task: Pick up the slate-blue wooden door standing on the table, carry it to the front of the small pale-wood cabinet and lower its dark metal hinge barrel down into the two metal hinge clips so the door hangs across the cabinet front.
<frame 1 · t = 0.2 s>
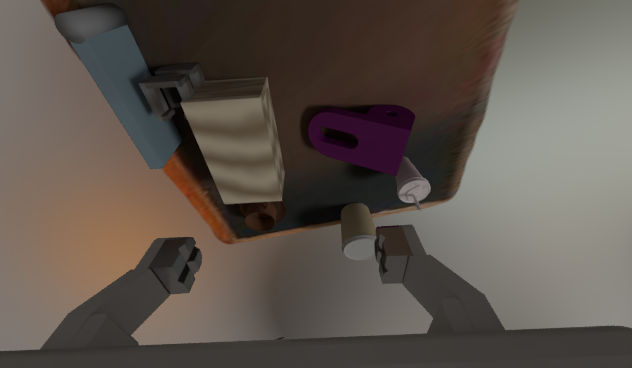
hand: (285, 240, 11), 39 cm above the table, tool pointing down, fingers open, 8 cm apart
coffee cup: (354, 211, 68), on the table
mounting bracket: (354, 126, 51), on the table
smoothie: (400, 162, 57), on the table
cup and saucer: (263, 203, 66), on the table
cabinet: (248, 133, 51), on the table
door: (152, 90, 45), on the table
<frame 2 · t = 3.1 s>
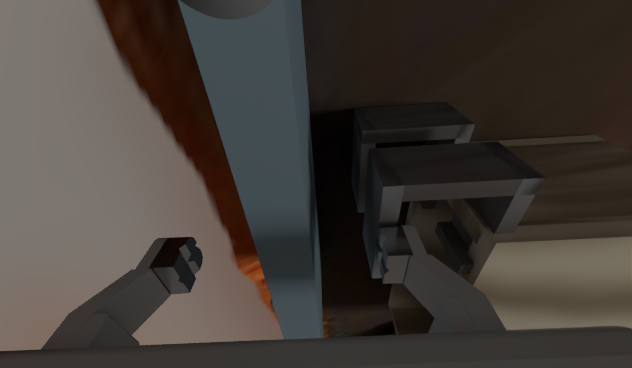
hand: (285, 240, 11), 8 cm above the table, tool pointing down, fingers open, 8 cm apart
cabinet: (462, 242, 24), on the table
door: (298, 163, 19), on the table
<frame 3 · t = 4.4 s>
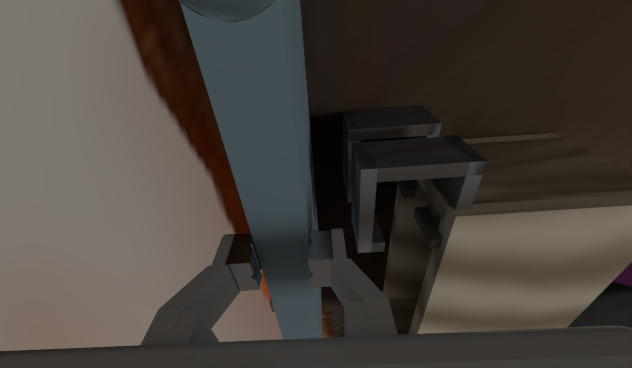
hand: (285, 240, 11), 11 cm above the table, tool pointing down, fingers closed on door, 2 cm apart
cabinet: (446, 233, 27), on the table
door: (298, 165, 19), point 2 cm above the table, touching gripper
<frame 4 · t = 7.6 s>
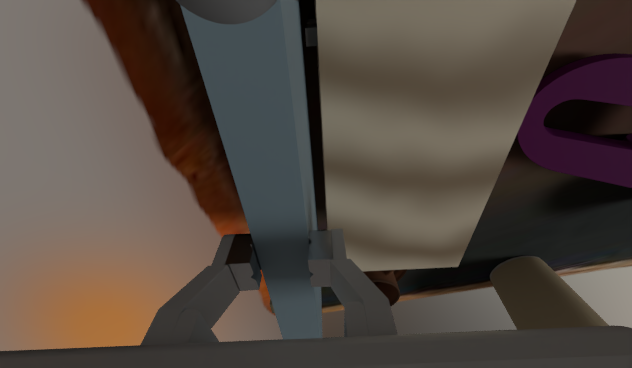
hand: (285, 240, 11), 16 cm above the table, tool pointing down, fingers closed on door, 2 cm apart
coffee cup: (514, 269, 39), on the table
mounting bracket: (604, 107, 24), on the table
cup and saucer: (362, 257, 37), on the table
cabinet: (382, 121, 24), on the table
door: (298, 165, 19), point 7 cm above the table, touching gripper
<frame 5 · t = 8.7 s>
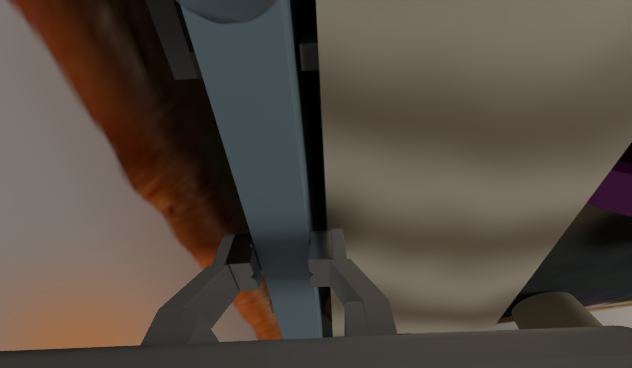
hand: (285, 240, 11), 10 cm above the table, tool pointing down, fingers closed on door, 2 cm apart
coffee cup: (539, 304, 35), on the table
cabinet: (397, 149, 20), on the table
door: (298, 165, 19), point 1 cm above the table, touching gripper
when the fingers open (10 cm above the table, at t = 9.1 s): door stays where it is, on the table.
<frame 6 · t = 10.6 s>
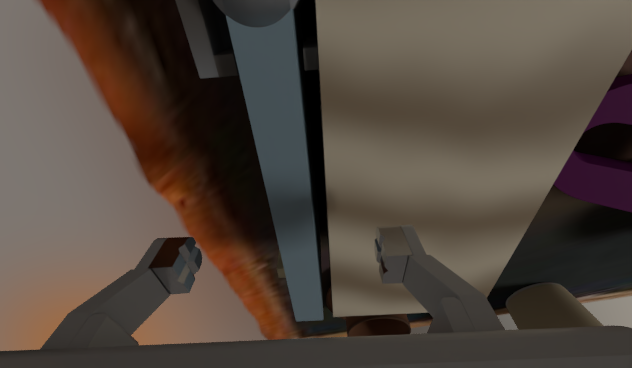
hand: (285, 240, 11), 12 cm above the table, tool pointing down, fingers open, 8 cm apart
coffee cup: (532, 296, 36), on the table
cup and saucer: (368, 284, 34), on the table
cabinet: (391, 144, 22), on the table
door: (300, 149, 22), on the table
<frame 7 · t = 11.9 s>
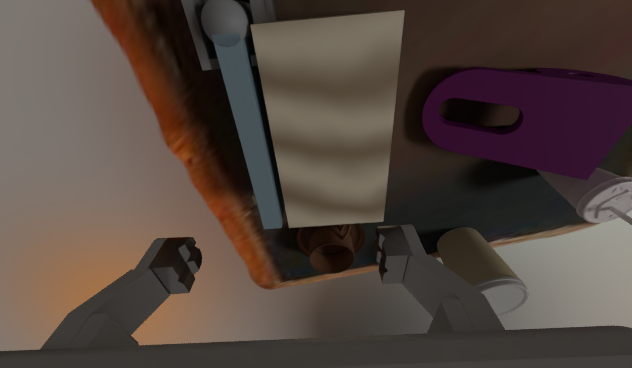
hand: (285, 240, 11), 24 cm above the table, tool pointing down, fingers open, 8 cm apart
coffee cup: (456, 240, 47), on the table
mounting bracket: (488, 105, 33), on the table
smoothie: (548, 162, 38), on the table
cup and saucer: (329, 231, 45), on the table
cabinet: (327, 116, 33), on the table
door: (268, 120, 33), on the table
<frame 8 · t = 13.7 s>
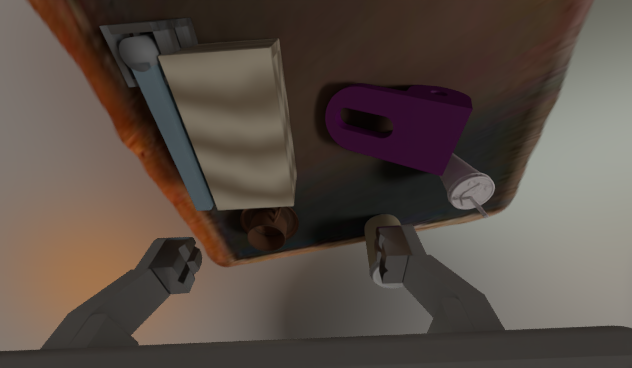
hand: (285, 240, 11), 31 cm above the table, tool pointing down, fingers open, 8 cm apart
coffee cup: (381, 226, 55), on the table
mounting bracket: (383, 113, 40), on the table
smoothie: (444, 160, 45), on the table
cup and saucer: (270, 216, 53), on the table
cabinet: (252, 119, 40), on the table
door: (203, 122, 40), on the table
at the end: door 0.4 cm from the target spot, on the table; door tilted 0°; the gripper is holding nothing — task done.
